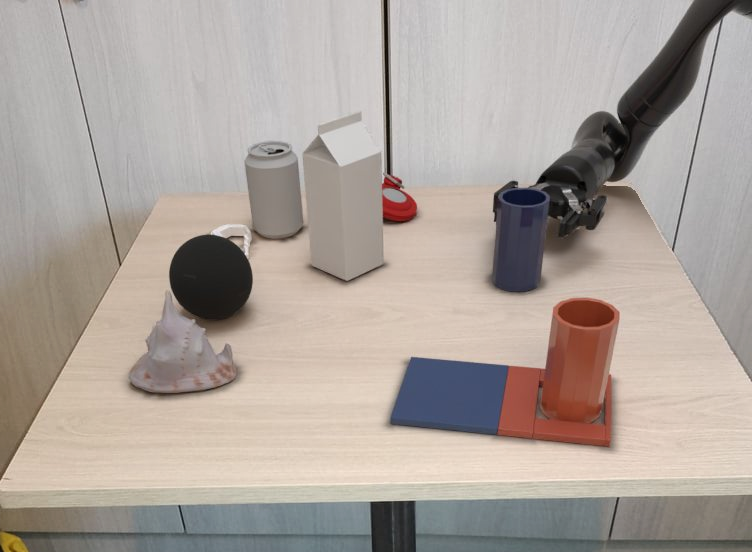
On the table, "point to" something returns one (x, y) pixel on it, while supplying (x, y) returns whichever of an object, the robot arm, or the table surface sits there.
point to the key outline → (235, 234)
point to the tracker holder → (396, 200)
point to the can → (274, 189)
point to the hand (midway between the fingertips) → (529, 224)
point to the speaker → (210, 277)
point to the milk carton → (344, 198)
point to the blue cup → (520, 238)
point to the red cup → (578, 359)
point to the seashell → (180, 357)
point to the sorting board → (486, 402)
